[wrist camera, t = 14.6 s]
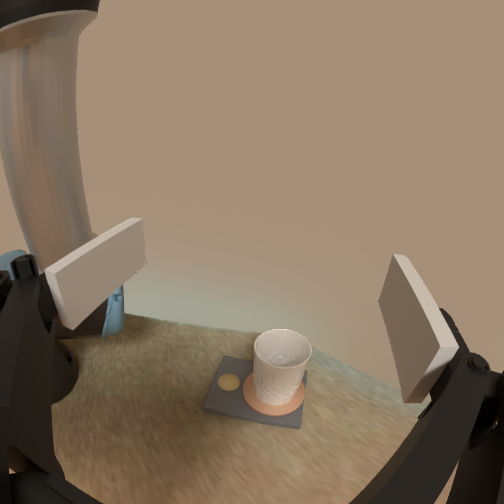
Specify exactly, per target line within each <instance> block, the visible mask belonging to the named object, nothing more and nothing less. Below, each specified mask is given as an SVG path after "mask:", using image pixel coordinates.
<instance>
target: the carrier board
mask: <svg viewBox="0 0 504 504" xmlns="http://www.w3.org/2000/svg"><path fill="white" fill-rule="evenodd" d="M306 373H307V370H305V373H304V375H303V378H302V380H301V383H300V385H299V387H298V389H297V391H296V394H295V396H294V397H293V398H292V399H291V401H290V402H288V403H285V404H283V405H276V406H272V405H269V404H265V403H263V402H262V401H260V400H259V399H258V398H257V397H256V395H255V393H254V390H253V385H254V380H253V362H252V361H247V360H242V359H237V358H233V357H228V356H224V357H223V360H222V362H221V365H220V367H219V369H218V372H217V374H216V376H215V379H214V381H213V383H212V386H211V388H210V390H209V393H208V395H207V397H206V400H205V402H204V404H203V410H205V411H209V412H212V413H216V414H220V415H224V416H228V417H233V418H237V419H242V420H246V421H251V422H256V423H262V424H267V425H273V426H280V427H286V428H294V429H300V426H301V419H302V411H303V402H304V397H305V384H306Z"/></svg>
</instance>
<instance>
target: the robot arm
mask: <svg viewBox="0 0 504 504" xmlns="http://www.w3.org/2000/svg"><path fill="white" fill-rule="evenodd" d="M99 2H100V0H0V150H1V156H2V161H3V165H4V170H5V174H6V179H7V183H8V187H9V191H10V195H11V198H12V202H13V205H14V208H15V211H16V215H17V218H18V221H19V224H20V226H21V229H22V232H23V235H24V238H25V240H26V243H27V245H28V248H29V250H30V253H31V254H27V253H26V252H25V251H22V250H14V251H11V252H8V253H5V254H3V255H1V256H0V504H103V503H101V502H99V501H98V500H96V499H94V498H93V497H91V496H89V495H88V494H86V493H85V492H83V491H81V490H80V489H78V488H77V487H75V486H74V485H72V484H71V483H69V482H68V481H67V480H65V476H64V472H63V470H62V467H61V466H60V464H59V462H58V460H57V459H56V456H55V453H54V445H53V433H52V416H51V404H53V403H56V402H58V401H59V400H61V399H62V398H64V397H65V396H66V395H67V394H68V393H69V392H70V391H71V389H72V388H73V386H74V385H75V382H76V380H77V375H78V367H77V363H76V361H75V359H74V357H73V354H72V353H71V351H70V350H69V348H68V347H67V346H66V345H65V344H64V343H63V342H62V341H61V340H60V339H79V338H97V337H99V338H103V337H104V336H111V335H117V334H119V333H121V332H122V331H123V329H124V326H125V315H124V296H123V284H124V283H125V282H126V281H127V280H128V279H129V278H130V277H132V276H133V275H134V274H135V273H136V272H137V271H138V270H140V269H141V268H142V267H143V266H144V265H146V254H145V244H144V233H143V221H142V219H139V218H130V219H128V220H126V221H124V222H123V223H121V224H119V225H117V226H116V227H114V228H112V229H110V230H108V231H106V232H105V233H103V234H101V235H99V236H98V235H96V234H94V233H92V230H91V225H90V221H89V216H88V211H87V205H86V200H85V194H84V187H83V181H82V173H81V166H80V157H79V147H78V134H77V117H76V69H77V52H78V41H79V35H80V34H81V32H82V31H83V30H84V29H85V28H86V27H87V26H88V25H89V24H90V23H91V22H92V21H93V20H94V19H96V17H97V12H98V6H99ZM378 302H379V305H380V309H381V311H382V315H383V319H384V322H385V325H386V329H387V332H388V336H389V339H390V344H391V348H392V352H393V355H394V360H395V364H396V368H397V372H398V377H399V381H400V386H401V391H402V396H403V401H404V403H422V401H423V400H424V399H425V397H426V396H427V395H428V393H429V392H430V396H431V400H432V401H431V402H430V403H429V404H428V406H427V407H426V408H425V409H424V411H423V412H422V413H421V414H420V415H419V416H418V419H419V420H418V421H417V423H416V424H415V426H414V427H413V429H412V430H411V432H410V433H409V435H408V436H407V437H406V439H405V440H404V441H403V443H402V444H401V446H400V447H399V448H398V450H397V451H396V452H395V453H394V455H393V456H392V457H391V458H390V460H389V461H388V462H387V463H386V465H385V466H384V467H383V468H382V469H381V470H380V472H379V473H378V474H377V475H376V476H375V477H374V478H373V480H372V481H371V482H370V483H369V484H368V485H367V486H366V487H365V488H364V489H363V490H362V491H361V492H360V493H359V494H358V495H357V496H356V497H355V498H354V499H353V500H352V501H351V502H350V503H349V504H434V503H435V501H436V500H437V498H438V496H439V495H440V493H441V492H442V490H443V488H444V487H445V485H446V483H447V481H448V480H449V478H450V476H451V474H452V472H453V470H454V468H455V466H456V465H457V463H458V461H459V463H458V467H457V471H456V474H455V478H454V481H453V484H452V488H451V491H450V494H449V497H448V500H447V502H446V504H504V371H503V372H502V374H501V373H497V372H494V371H490V367H489V364H488V363H487V361H486V360H485V359H484V358H483V357H481V356H480V355H478V354H476V353H470V351H469V349H468V348H467V345H466V344H465V342H464V340H463V338H462V336H461V334H460V333H459V332H458V331H459V330H458V328H457V327H456V326H455V323H454V322H453V319H452V318H451V316H450V315H449V314H448V313H447V312H446V311H445V310H444V309H443V308H438V306H437V305H436V303H435V301H434V299H433V298H432V296H431V294H430V293H429V291H428V289H427V288H426V286H425V284H424V283H423V281H422V279H421V278H420V276H419V275H418V273H417V272H416V270H415V269H414V267H413V265H412V264H411V262H410V261H409V259H408V258H407V256H403V255H397V254H393V256H392V259H391V262H390V266H389V270H388V273H387V276H386V279H385V282H384V286H383V289H382V292H381V295H380V298H379V301H378ZM497 421H498V422H497ZM496 422H497V425H496ZM459 458H460V459H459ZM9 468H10V469H12V470H13V471H14V472H16V473H13V474H9Z"/></svg>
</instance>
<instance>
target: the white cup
mask: <svg viewBox="0 0 504 504" xmlns="http://www.w3.org/2000/svg"><path fill="white" fill-rule="evenodd" d="M311 353H312V348H311V345H310V343H309V342H308V340H307V339H306V338H305V337H304V336H303V335H301V334H299V333H297V332H295V331H292V330H288V329H271V330H268V331H265V332H263V333H262V334H260V335H259V336H258V337H257V338H256V340H255V343H254V361H253V380H254V385H253V390H254V393H255V395H256V397H257V398H258V399H259V400H260V401H262V402H263V403H265V404H269V405H272V406H276V405H283V404H285V403H288V402H290V401H291V399H292V398H293V397H294V396H295V394H296V391H297V389H298V387H299V385H300V383H301V380H302V378H303V375H304V373H305V370H306V367H307V365H308V362H309V359H310V357H311Z"/></svg>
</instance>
